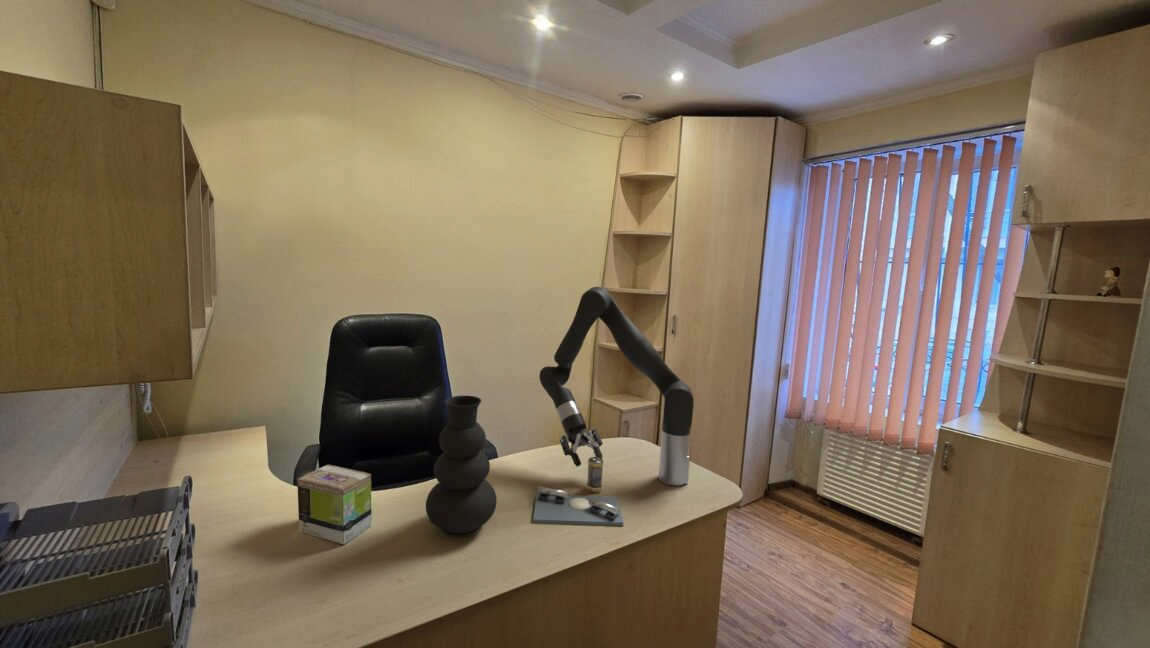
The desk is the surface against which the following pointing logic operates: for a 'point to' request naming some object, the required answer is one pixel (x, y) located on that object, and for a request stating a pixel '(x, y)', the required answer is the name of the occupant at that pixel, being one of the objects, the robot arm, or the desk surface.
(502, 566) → the desk surface
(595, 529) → the desk surface
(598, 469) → the banded tin drum
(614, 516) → the shaft
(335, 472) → the tea box
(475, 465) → the vase
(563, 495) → the shaft
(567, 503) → the board
